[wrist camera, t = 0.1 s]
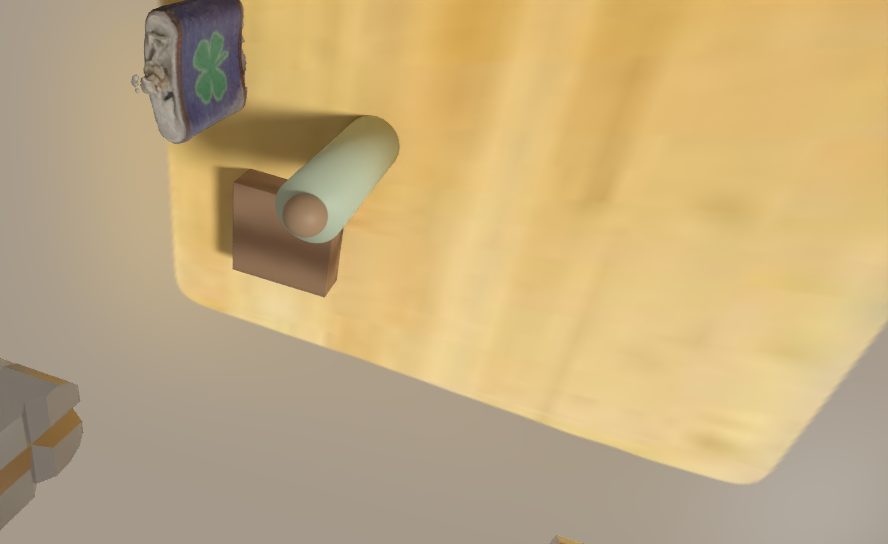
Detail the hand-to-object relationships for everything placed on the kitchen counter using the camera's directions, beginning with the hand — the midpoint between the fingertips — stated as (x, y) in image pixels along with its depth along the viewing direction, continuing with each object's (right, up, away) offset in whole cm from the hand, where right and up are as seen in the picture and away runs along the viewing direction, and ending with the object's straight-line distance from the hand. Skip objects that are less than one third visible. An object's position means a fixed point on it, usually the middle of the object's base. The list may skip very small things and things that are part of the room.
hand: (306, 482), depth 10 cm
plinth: (-11, +8, +45) cm, 47 cm away
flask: (-15, +21, +38) cm, 46 cm away
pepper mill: (-4, +14, +39) cm, 42 cm away
